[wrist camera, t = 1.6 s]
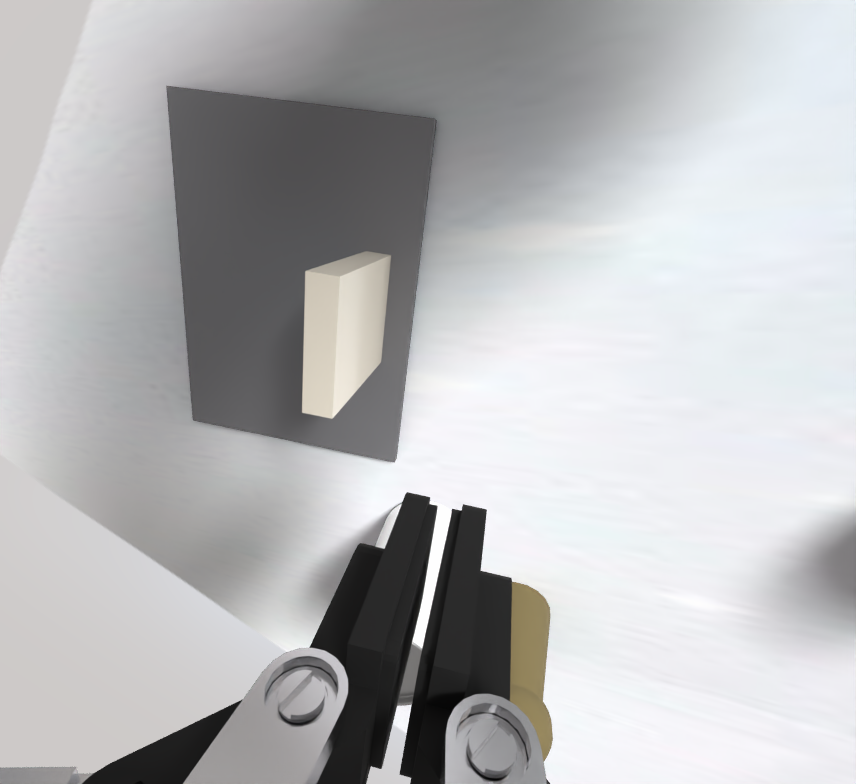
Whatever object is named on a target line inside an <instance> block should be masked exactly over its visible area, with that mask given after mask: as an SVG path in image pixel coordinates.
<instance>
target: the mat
mask: <svg viewBox="0 0 856 784" xmlns="http://www.w3.org/2000/svg"><path fill="white" fill-rule="evenodd" d="M167 98H168V111H169V123H170V136H171V149H172V161H173V174H174V186H175V199H176V212H177V224H178V237H179V250H180V262H181V275H182V287H183V300H184V313H185V325H186V338H187V351H188V363H189V376H190V388H191V401H192V414H193V420H195V421H200V422H204V423H209V424H214V425H219V426H223V427H228V428H233V429H238V430H242V431H247V432H252V433H257V434H262V435H266V436H271V437H276V438H281V439H285V440H290V441H295V442H300V443H304V444H309V445H314V446H319V447H324V448H328V449H333V450H338V451H343V452H347V453H352V454H357V455H362V456H366V457H371V458H376V459H381V460H386V461H390V462H395V460H396V458H397V450H398V441H399V433H400V424H401V416H402V407H403V399H404V391H405V382H406V374H407V365H408V357H409V348H410V340H411V331H412V323H413V314H414V306H415V297H416V289H417V280H418V272H419V264H420V255H421V247H422V238H423V230H424V221H425V213H426V204H427V196H428V187H429V179H430V170H431V162H432V153H433V145H434V136H435V128H436V120H435V119H433V118H425V117H416V116H408V115H400V114H392V113H384V112H376V111H367V110H359V109H351V108H343V107H335V106H327V105H318V104H310V103H302V102H294V101H286V100H277V99H269V98H261V97H253V96H245V95H237V94H228V93H220V92H212V91H204V90H196V89H188V88H179V87H171V86H167ZM365 251H368V252H375V253H381V254H387V255H391V262H390V273H389V284H388V294H387V305H386V315H385V326H384V337H383V347H382V358H381V363H380V364H379V365H378V366H377V367H376V369H375V370H374V371H373V372H372V373H371V374H370V376H369V377H368V378H367V379H366V380H365V381H364V383H363V384H362V385H361V386H360V387H359V388H358V390H357V391H356V392H355V393H354V394H353V395H352V397H351V398H350V399H349V400H348V401H347V402H346V404H345V405H344V406H343V407H342V408H341V409H340V411H339V412H338V413H337V414H336V415H335V416H334V418H333V419H331V418H326V417H321V416H316V415H311V414H306V413H302V391H303V350H304V308H305V271H307V270H310V269H313V268H316V267H319V266H322V265H325V264H328V263H331V262H334V261H337V260H340V259H343V258H347V257H350V256H353V255H356V254H359V253H362V252H365Z"/></svg>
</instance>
